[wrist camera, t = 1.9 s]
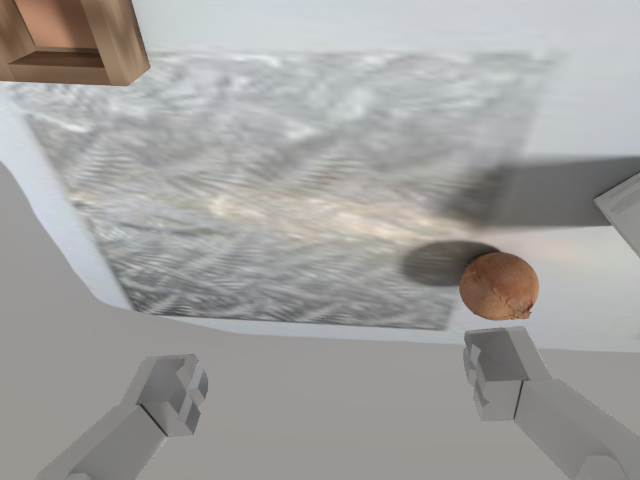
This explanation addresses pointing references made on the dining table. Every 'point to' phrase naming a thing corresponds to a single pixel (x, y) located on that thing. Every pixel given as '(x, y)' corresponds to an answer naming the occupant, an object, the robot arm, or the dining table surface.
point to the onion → (499, 286)
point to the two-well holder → (71, 42)
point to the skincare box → (624, 210)
